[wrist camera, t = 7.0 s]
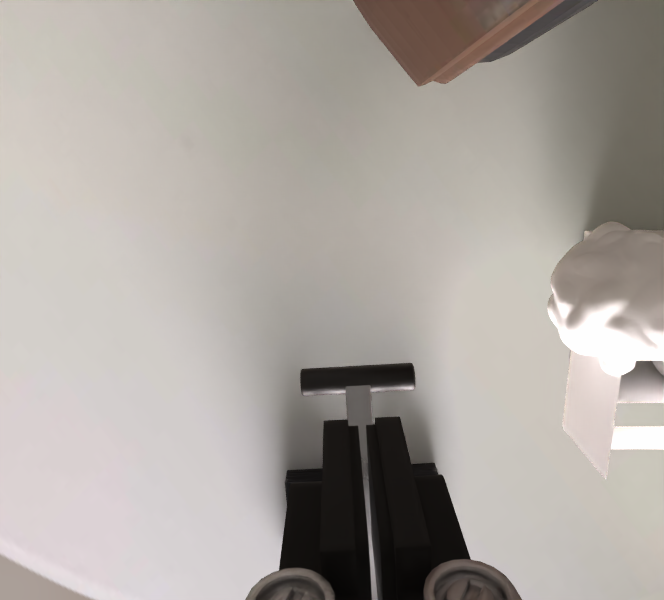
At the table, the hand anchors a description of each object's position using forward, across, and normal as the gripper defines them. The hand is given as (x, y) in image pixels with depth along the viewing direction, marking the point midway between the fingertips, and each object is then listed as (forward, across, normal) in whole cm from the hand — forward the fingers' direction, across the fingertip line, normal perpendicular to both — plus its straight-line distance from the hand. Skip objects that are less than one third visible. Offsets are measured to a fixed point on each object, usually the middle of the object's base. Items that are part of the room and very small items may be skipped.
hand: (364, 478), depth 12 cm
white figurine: (+15, -15, +2) cm, 22 cm away
